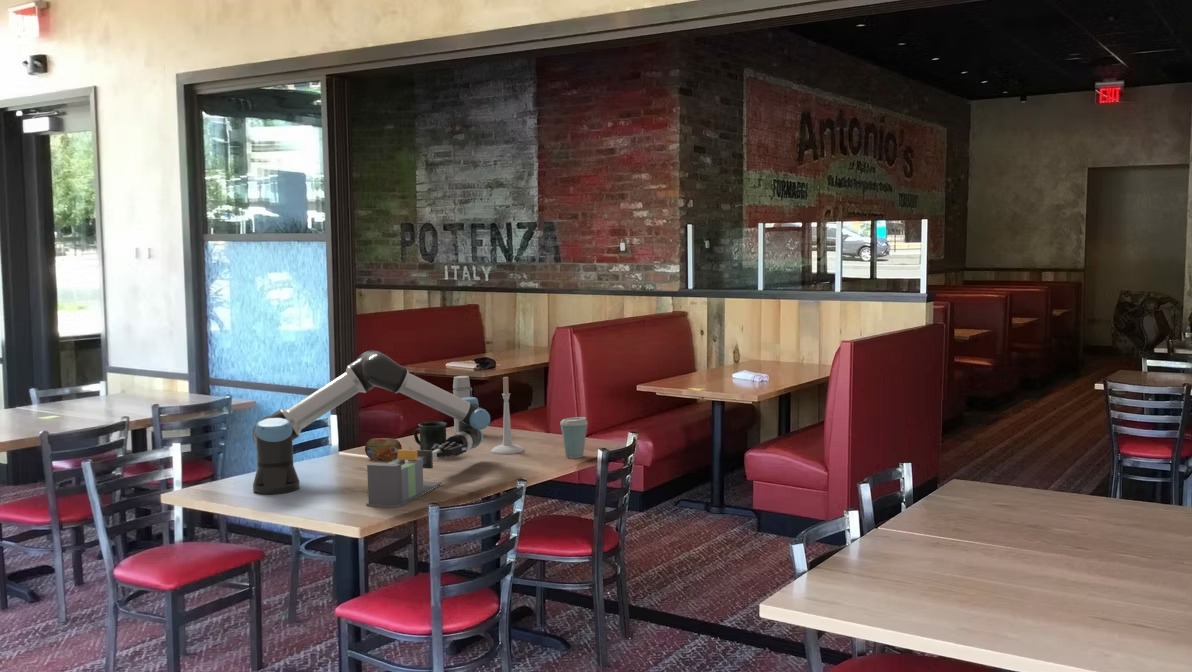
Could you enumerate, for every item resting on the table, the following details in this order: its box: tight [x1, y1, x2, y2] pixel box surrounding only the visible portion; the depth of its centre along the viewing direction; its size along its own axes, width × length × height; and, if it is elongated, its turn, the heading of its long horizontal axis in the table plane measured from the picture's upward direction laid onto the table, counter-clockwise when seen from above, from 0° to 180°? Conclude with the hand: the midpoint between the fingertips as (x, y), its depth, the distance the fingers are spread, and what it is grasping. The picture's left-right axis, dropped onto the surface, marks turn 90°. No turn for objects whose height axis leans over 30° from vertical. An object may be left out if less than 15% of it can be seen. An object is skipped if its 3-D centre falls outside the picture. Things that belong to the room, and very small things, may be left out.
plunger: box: [401, 447, 434, 470], centre depth 340 cm, size 17×6×8 cm, turn 164°
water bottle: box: [452, 375, 473, 435], centre depth 443 cm, size 9×8×25 cm
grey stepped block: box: [366, 458, 443, 509], centre depth 334 cm, size 32×11×13 cm, turn 164°
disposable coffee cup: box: [559, 416, 588, 459], centre depth 391 cm, size 11×11×15 cm
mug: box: [413, 421, 448, 450], centre depth 402 cm, size 11×15×12 cm
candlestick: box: [490, 376, 525, 455], centre depth 403 cm, size 13×13×30 cm
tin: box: [364, 437, 403, 461], centre depth 392 cm, size 15×3×8 cm, turn 71°
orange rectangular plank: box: [397, 448, 418, 461], centre depth 336 cm, size 2×6×3 cm, turn 73°
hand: (430, 456), depth 352 cm, fingers closed
